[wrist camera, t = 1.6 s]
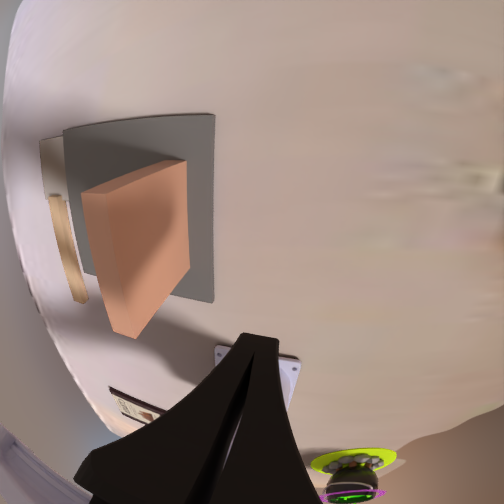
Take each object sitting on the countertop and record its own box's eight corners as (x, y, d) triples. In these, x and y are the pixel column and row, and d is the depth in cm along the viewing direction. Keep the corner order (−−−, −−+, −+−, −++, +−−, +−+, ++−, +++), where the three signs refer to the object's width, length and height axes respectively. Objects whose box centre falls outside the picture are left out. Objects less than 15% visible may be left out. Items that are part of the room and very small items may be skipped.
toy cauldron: (349, 440, 30) (345, 509, 20) (413, 451, 30) (416, 506, 20) (293, 466, 37) (283, 517, 27) (356, 476, 37) (352, 522, 28)
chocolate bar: (215, 449, 37) (122, 414, 40) (217, 444, 38) (124, 410, 40) (215, 429, 33) (109, 389, 35) (217, 424, 34) (111, 385, 36)
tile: (190, 267, 21) (135, 339, 14) (169, 264, 21) (111, 330, 14) (186, 160, 17) (106, 194, 10) (163, 160, 17) (78, 192, 10)
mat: (214, 299, 22) (212, 303, 22) (87, 270, 24) (84, 272, 24) (215, 115, 16) (212, 115, 15) (66, 129, 18) (62, 130, 17)
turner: (97, 302, 26) (92, 307, 25) (71, 292, 27) (66, 297, 26) (68, 134, 18) (60, 136, 17) (42, 140, 19) (34, 142, 18)
